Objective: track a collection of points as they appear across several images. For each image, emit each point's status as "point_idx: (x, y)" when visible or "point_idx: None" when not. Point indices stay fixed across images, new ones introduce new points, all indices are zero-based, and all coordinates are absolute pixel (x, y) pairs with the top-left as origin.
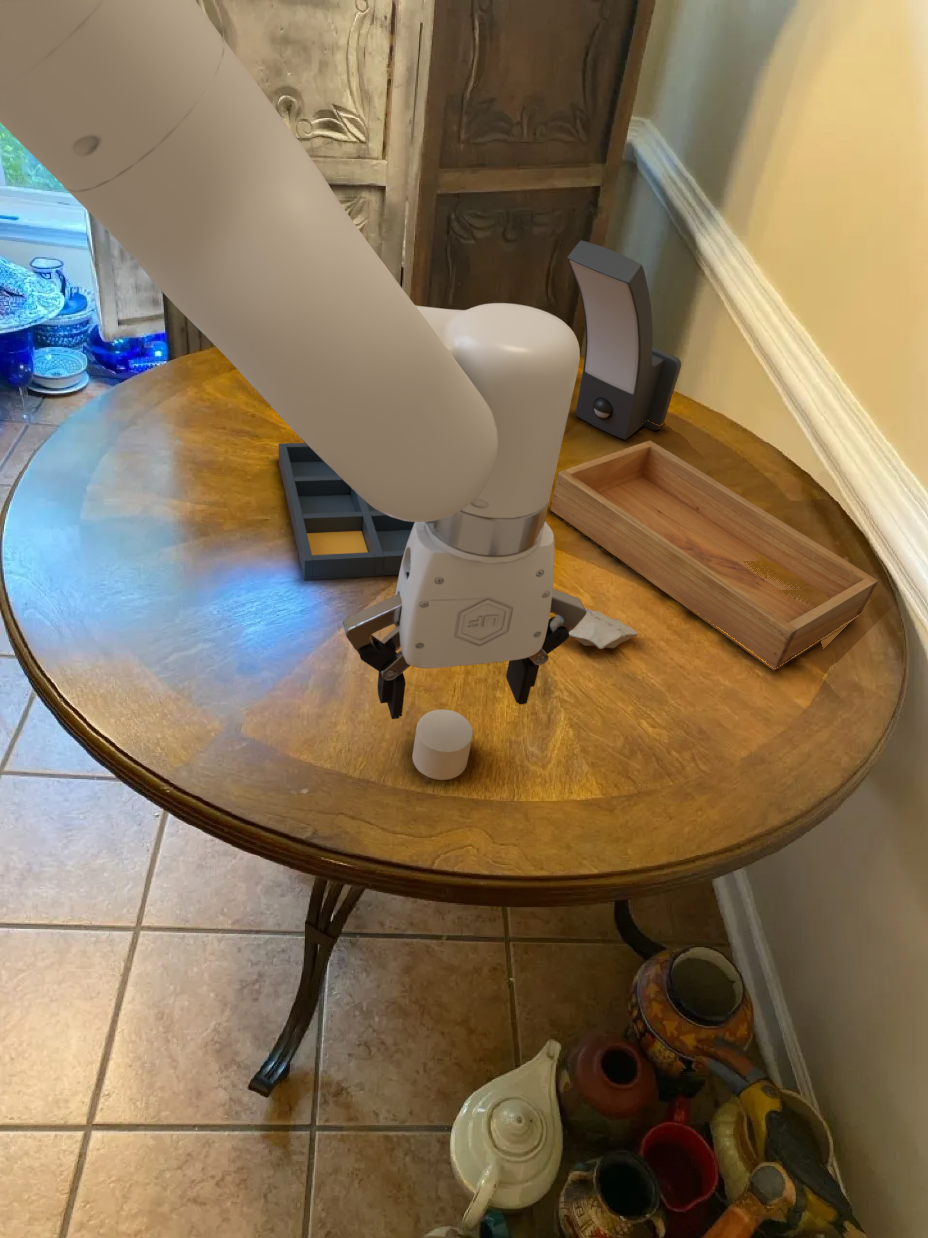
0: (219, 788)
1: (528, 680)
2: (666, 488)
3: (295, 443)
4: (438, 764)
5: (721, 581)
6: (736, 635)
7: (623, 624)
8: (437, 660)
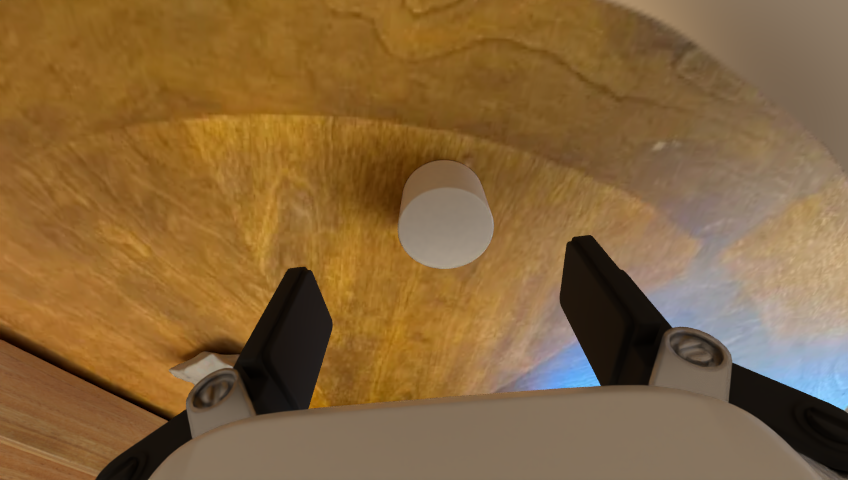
0: (781, 154)
1: (268, 321)
2: None
3: None
4: (457, 175)
5: (28, 449)
6: (31, 369)
7: (188, 381)
8: (643, 439)
